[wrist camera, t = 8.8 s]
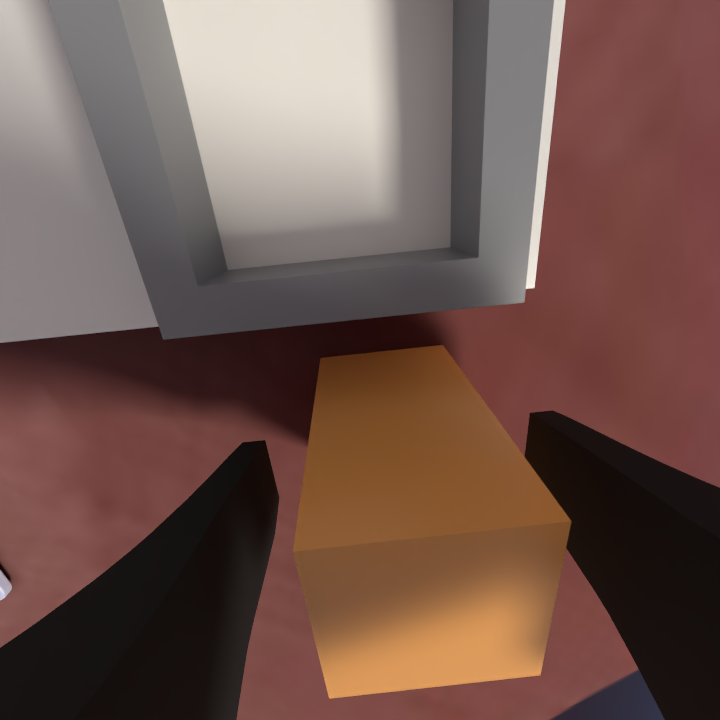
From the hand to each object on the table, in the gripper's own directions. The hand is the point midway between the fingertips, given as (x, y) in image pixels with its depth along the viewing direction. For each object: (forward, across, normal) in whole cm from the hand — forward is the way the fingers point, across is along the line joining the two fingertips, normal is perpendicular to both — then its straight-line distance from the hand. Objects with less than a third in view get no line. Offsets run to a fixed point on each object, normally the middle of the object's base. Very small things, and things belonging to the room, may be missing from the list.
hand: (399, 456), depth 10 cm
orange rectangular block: (+3, 0, 0) cm, 3 cm away
